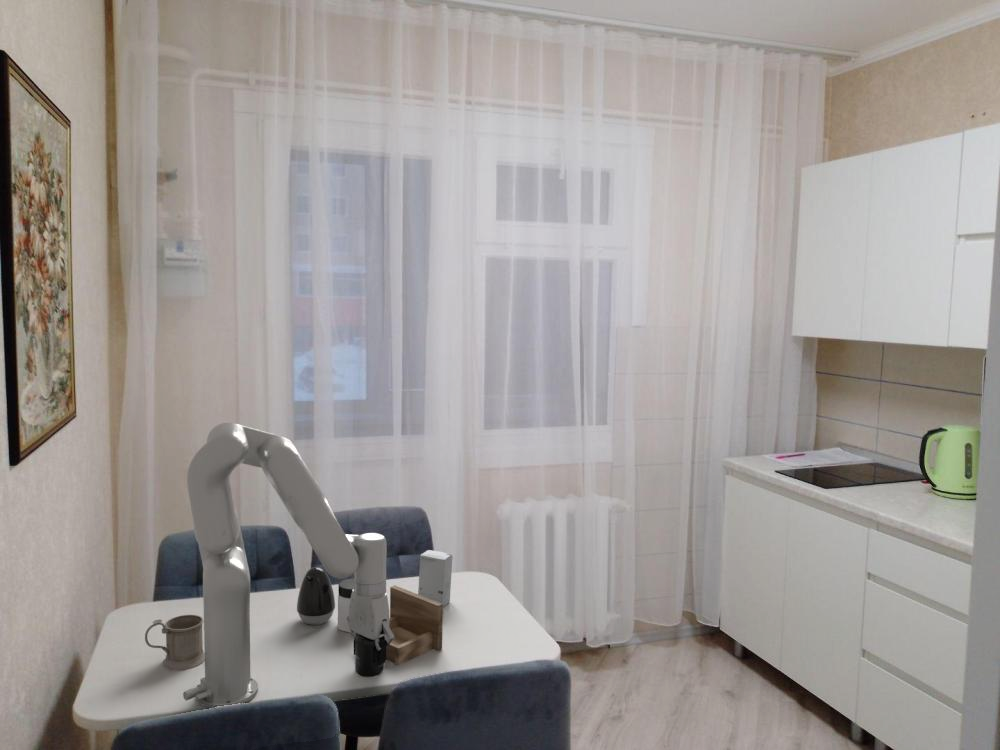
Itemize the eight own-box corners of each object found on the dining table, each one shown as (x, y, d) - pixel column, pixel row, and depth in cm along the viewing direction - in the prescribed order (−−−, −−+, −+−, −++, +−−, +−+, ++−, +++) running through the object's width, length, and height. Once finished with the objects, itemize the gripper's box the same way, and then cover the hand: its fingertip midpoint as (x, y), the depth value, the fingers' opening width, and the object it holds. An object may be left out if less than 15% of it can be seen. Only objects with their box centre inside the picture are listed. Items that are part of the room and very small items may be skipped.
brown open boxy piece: (403, 668, 180) (403, 620, 179) (355, 644, 191) (355, 599, 190) (442, 649, 190) (442, 604, 189) (394, 628, 202) (394, 585, 200)
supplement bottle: (349, 673, 177) (349, 624, 176) (367, 661, 183) (367, 614, 182) (372, 680, 174) (372, 631, 173) (389, 668, 180) (390, 620, 179)
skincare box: (417, 604, 218) (417, 555, 216) (426, 596, 223) (427, 548, 222) (443, 609, 215) (444, 559, 213) (452, 601, 220) (452, 552, 219)
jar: (343, 635, 196) (343, 591, 195) (332, 624, 203) (332, 581, 202) (375, 628, 201) (375, 585, 200) (363, 617, 208) (363, 575, 207)
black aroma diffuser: (289, 626, 201) (289, 572, 199) (308, 611, 211) (308, 559, 210) (324, 631, 199) (324, 576, 197) (341, 615, 209) (341, 563, 207)
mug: (193, 646, 188) (192, 601, 187) (214, 659, 182) (213, 612, 181) (136, 667, 177) (134, 619, 176) (155, 681, 171) (154, 631, 170)
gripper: (334, 581, 179) (334, 652, 181) (382, 601, 168) (382, 676, 170) (358, 572, 185) (358, 641, 186) (407, 591, 174) (406, 664, 175)
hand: (369, 657), depth 178 cm, fingers closed on supplement bottle, 6 cm apart
